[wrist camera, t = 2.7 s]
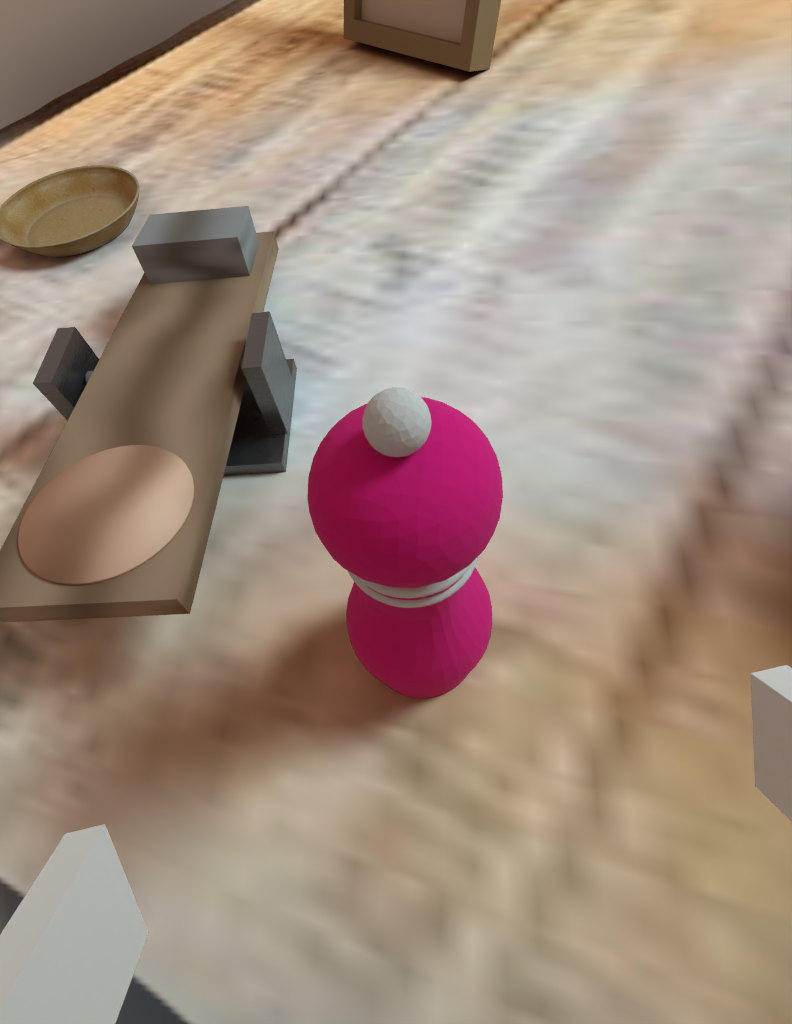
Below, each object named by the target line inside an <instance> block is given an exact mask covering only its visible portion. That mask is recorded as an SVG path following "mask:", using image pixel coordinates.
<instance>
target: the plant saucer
mask: <svg viewBox="0 0 792 1024" xmlns="http://www.w3.org/2000/svg"><path fill="white" fill-rule="evenodd" d="M138 196H139V183H138V180H137V179H136V177H135V176H134V175H133V174H132V173H130V172H129V171H127V170H124V169H122V168H119V167H114V166H106V165H97V166H94V165H93V166H83V167H77V168H72V169H67V170H63V171H60V172H56V173H53V174H50V175H48V176H45V177H43V178H41V179H38V180H36V181H34V182H32V183H30V184H28V185H26V186H25V187H24V188H22V189H20V190H19V191H17V192H16V193H15V194H13V195H12V196H11V197H10V198H9V199H8V200H7V201H6V202H4V204H3V205H2V206H1V207H0V239H1V240H2V241H4V242H6V243H8V244H10V245H12V246H15V247H17V248H20V249H23V250H26V251H29V252H32V253H36V254H39V255H44V256H50V257H66V256H73V255H78V254H82V253H85V252H88V251H91V250H94V249H96V248H98V247H101V246H103V245H105V244H106V243H108V242H110V241H111V240H113V239H114V238H116V237H117V236H118V235H119V234H121V233H122V232H123V231H124V229H125V228H126V227H127V226H128V224H129V223H130V221H131V219H132V216H133V214H134V211H135V209H136V205H137V201H138Z"/></svg>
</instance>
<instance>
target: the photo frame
mask: <svg viewBox="0 0 792 1024" xmlns="http://www.w3.org/2000/svg"><path fill="white" fill-rule="evenodd" d="M500 3H501V0H344V38H345V39H349V40H353V41H356V42H360V43H364V44H367V45H371V46H375V47H379V48H382V49H386V50H390V51H394V52H397V53H401V54H405V55H409V56H412V57H416V58H420V59H424V60H427V61H431V62H435V63H439V64H442V65H446V66H450V67H454V68H457V69H461V70H465V71H469V72H471V71H479V70H486V69H489V68H490V63H491V57H492V51H493V45H494V39H495V33H496V27H497V21H498V15H499V9H500Z"/></svg>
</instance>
